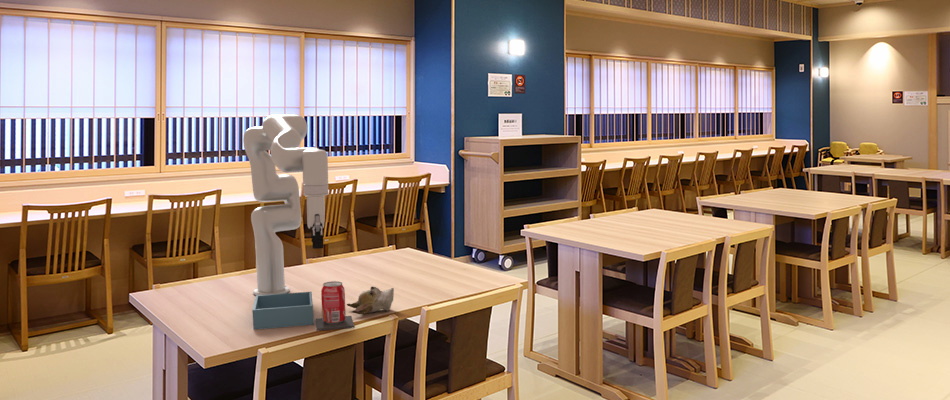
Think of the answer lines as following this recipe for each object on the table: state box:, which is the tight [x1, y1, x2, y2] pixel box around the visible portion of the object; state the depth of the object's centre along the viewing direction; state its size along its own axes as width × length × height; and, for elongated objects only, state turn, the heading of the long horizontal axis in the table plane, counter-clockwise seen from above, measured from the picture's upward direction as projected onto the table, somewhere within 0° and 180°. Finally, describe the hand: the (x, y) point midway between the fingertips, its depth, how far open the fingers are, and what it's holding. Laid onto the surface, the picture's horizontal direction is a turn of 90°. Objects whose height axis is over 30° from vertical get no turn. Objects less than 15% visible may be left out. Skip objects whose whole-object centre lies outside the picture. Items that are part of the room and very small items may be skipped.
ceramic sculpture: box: [346, 286, 395, 315], centre depth 223 cm, size 11×9×15 cm
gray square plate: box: [315, 315, 355, 331], centre depth 210 cm, size 11×11×1 cm
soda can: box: [320, 280, 346, 324], centre depth 210 cm, size 7×7×12 cm
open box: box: [251, 291, 315, 330], centre depth 216 cm, size 18×18×6 cm
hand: (317, 245), depth 212 cm, fingers open, 9 cm apart
